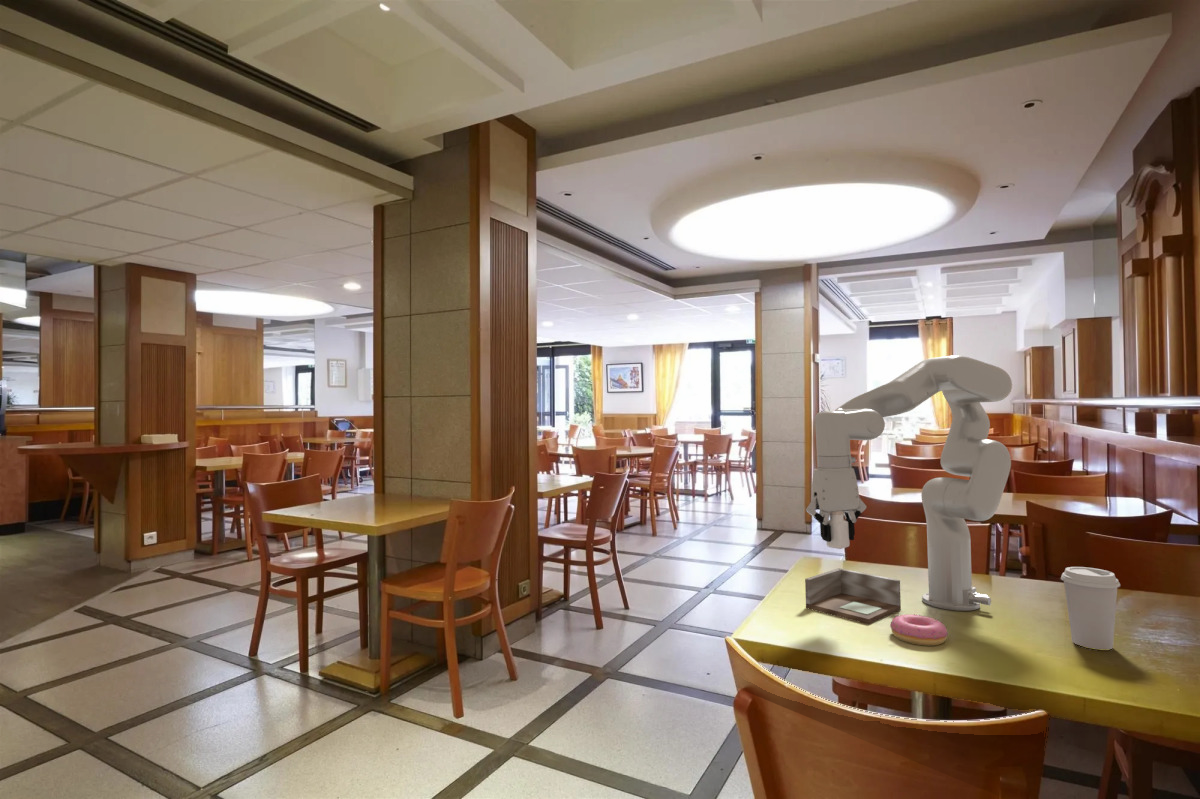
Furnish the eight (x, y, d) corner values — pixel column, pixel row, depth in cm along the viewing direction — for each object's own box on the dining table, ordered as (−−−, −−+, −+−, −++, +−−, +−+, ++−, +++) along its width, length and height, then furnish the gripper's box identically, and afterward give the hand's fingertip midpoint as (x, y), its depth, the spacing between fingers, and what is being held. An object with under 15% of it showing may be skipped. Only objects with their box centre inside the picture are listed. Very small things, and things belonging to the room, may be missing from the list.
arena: (900, 609, 149) (899, 580, 149) (868, 624, 139) (867, 592, 139) (839, 595, 161) (838, 568, 161) (805, 608, 151) (805, 578, 151)
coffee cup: (1127, 657, 118) (1124, 579, 119) (1065, 648, 123) (1063, 573, 124) (1117, 641, 126) (1115, 569, 127) (1060, 633, 131) (1058, 563, 132)
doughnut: (954, 638, 130) (954, 618, 130) (939, 652, 122) (938, 632, 122) (900, 626, 138) (900, 607, 138) (882, 639, 130) (882, 619, 130)
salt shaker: (841, 549, 141) (839, 508, 141) (825, 547, 144) (823, 507, 144) (850, 547, 143) (848, 506, 144) (835, 544, 147) (833, 505, 147)
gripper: (858, 460, 149) (862, 534, 149) (792, 463, 147) (796, 539, 146) (876, 462, 142) (880, 540, 141) (807, 466, 139) (811, 545, 139)
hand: (837, 539), depth 144 cm, fingers closed on salt shaker, 5 cm apart
